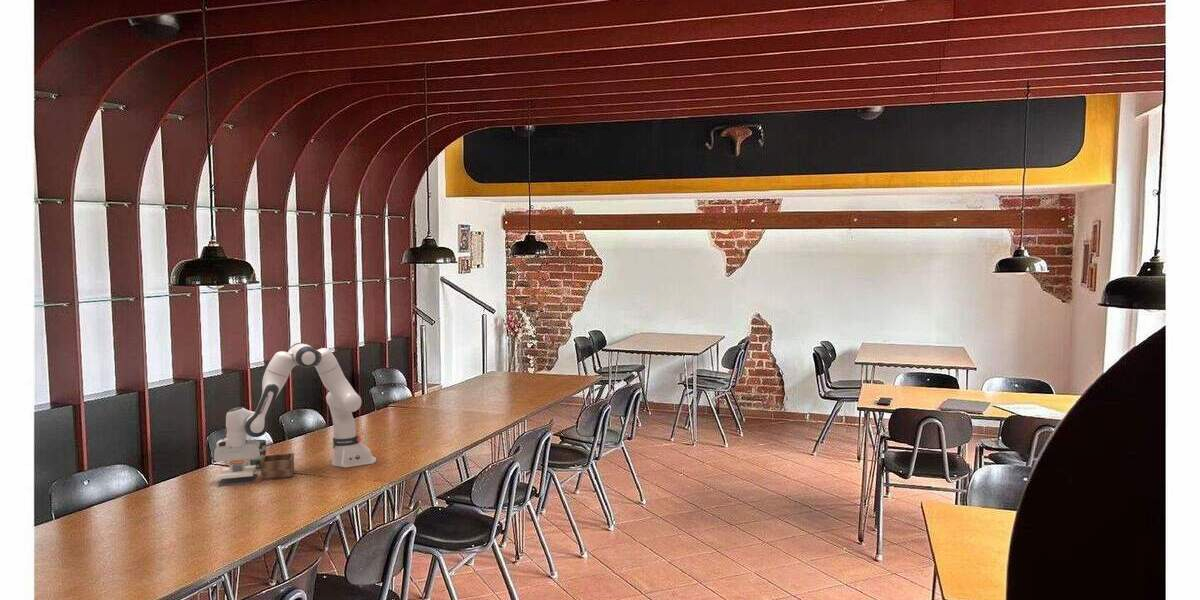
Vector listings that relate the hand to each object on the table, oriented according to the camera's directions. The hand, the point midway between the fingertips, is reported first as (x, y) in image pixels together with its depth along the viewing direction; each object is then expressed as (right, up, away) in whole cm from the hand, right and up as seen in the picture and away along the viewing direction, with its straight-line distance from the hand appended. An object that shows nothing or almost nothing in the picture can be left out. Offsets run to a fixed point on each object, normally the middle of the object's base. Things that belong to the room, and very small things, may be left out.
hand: (237, 468), depth 378 cm
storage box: (+17, -5, +8) cm, 19 cm away
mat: (0, -6, 0) cm, 6 cm away
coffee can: (0, -5, +21) cm, 22 cm away
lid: (0, -2, 0) cm, 2 cm away
